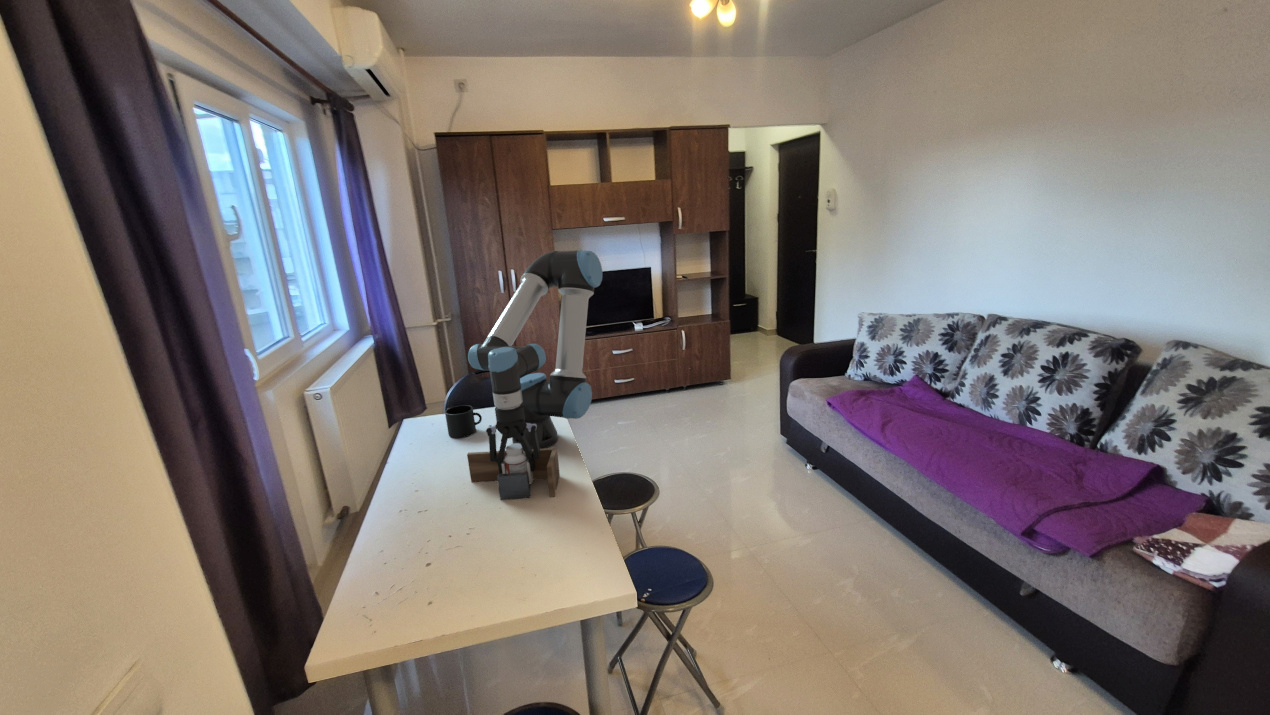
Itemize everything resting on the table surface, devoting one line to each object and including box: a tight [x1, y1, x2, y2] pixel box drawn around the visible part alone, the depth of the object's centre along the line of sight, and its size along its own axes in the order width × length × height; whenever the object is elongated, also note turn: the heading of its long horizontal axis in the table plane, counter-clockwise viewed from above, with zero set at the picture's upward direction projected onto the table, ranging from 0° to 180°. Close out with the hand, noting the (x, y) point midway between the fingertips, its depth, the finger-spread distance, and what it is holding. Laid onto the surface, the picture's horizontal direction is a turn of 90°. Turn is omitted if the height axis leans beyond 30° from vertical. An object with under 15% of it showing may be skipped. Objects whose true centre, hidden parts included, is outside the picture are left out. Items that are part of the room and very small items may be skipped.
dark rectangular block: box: [497, 472, 532, 501], centre depth 141 cm, size 2×8×7 cm, turn 90°
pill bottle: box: [505, 443, 528, 474], centre depth 145 cm, size 6×6×11 cm
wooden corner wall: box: [466, 447, 561, 498], centre depth 146 cm, size 12×26×9 cm, turn 90°
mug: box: [444, 404, 483, 439], centre depth 186 cm, size 9×12×9 cm
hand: (518, 481), depth 146 cm, fingers closed on pill bottle, 6 cm apart
